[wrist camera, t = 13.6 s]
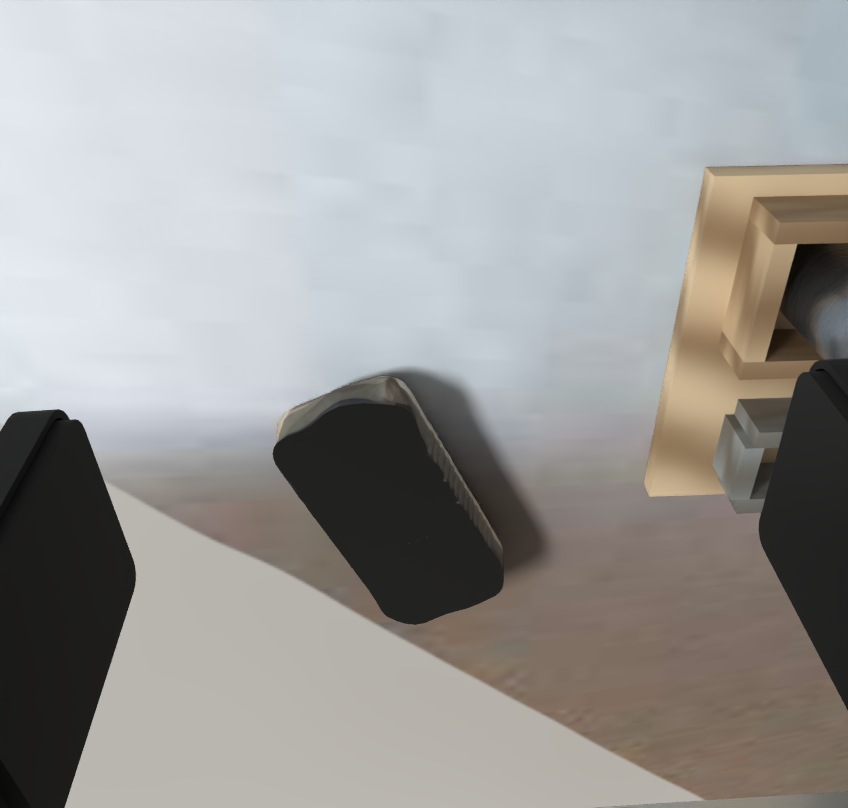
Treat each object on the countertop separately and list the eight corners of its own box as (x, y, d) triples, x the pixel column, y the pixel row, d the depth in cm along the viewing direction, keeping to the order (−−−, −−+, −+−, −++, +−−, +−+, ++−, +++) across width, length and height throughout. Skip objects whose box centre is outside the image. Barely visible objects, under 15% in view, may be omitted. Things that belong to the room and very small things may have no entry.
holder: (705, 167, 37) (738, 201, 34) (961, 161, 38) (1018, 194, 34) (644, 483, 48) (664, 532, 45) (842, 476, 49) (877, 524, 45)
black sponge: (510, 547, 51) (519, 591, 48) (390, 590, 53) (391, 636, 50) (397, 348, 43) (398, 387, 40) (258, 407, 44) (249, 449, 41)
